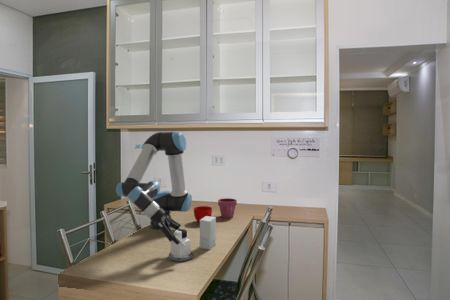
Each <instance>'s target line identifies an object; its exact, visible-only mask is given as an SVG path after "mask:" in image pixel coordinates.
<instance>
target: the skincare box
mask: <svg viewBox="0 0 450 300" xmlns="http://www.w3.org/2000/svg"><path fill="white" fill-rule="evenodd" d="M216 220H217V217H216V216H211V217H210V216H205V217H204V218H202V219H201V220H200V223H199V249H202V250H211V249H213V247H215V246H216V244H217V242H216V240H217V238H216V237H217V235H216V233H217V229H216V227H217V221H216Z"/></svg>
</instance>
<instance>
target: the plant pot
mask: <svg viewBox="0 0 450 300" xmlns="http://www.w3.org/2000/svg"><path fill="white" fill-rule="evenodd" d="M237 203H238V201H237V199H235V198H228V197H227V198H226V197H225V198H220V199H218V200H217V206H219V211H220V216H221V217H222V218H225V219H230V218H231V219H232V218H233V217H234V215H235V210H236V206H237V205H238V204H237Z"/></svg>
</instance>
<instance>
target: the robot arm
mask: <svg viewBox="0 0 450 300" xmlns="http://www.w3.org/2000/svg"><path fill="white" fill-rule="evenodd" d="M186 148H187V140H186V137H185V135H184V134H183V132H180V131H179V132H178V131H165V132H162V131H159V132H155V133H153V134H151V135H150V136H149V137H148V138H147V139H146V140H145V141H144V143H143V144H142V145H141V151H140V153H139V155H138V156H137V159H136V160H135V162H134V164H133V166H132V167H131V170H130V171H129V173H128V175H127V176H126V179H125V180H124V181H121V182H119V183H117V185H116V186H115V187H116V188H115V192H116V194H117V196H118V197H125V198H128V200H130V202H131V203H132V204H133V205H135V207H137V209H139V210H140V211H141V212H142V213H143V215H144V216H146V217H148V218H149V220H150V223H149V227H150V228H151V229H158V230H159V229H160V230H161V231H162V233H163V234H164V236H165V238H167V240H168V241H169V242H170V243H171V241H173V242H174V243H175V244H176V245H177V246H178V247H179V248H180V249H181V250H182V249H183V248H184V247H185V246H186V245H185V244H184V243H183V242H182V241H181V240H180V239H179V238H178V237H177V236H176V237H175V232H174V231H173V230H172V229H174V230H175V231H176V230H178V229H183V228H182V224H180V223H178V221H175V220H174V219H173V218H172V215H171V212H181V213H183V212H188V211H190V209H191V207H192V202H193V201H192V200H193V196H192V194H191V193H189V191H188V189H187V188H186V183H185V176H184V175H185V174H184V166H183V163H184V162H183V157H182V155H183V154H184V152H185V150H186ZM160 151H161V152H163V151H164V154H165V156H166V157H167V159H168V167H169V174H170V184H171V191H170V190H163V191H160V190H161V186H160V184H159V182H158V181H156V180H150V181H148V182H145V183H144V182H141V181H142V179H143V177H144V176H145V173H146V172H147V169H148V168H149V166H150V163H151V162H152V160H153V158H154V156H155V155H157V153H158V152H160ZM189 236H190V235H189V234H188V233H187V238H188V237H189Z"/></svg>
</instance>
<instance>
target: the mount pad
mask: <svg viewBox="0 0 450 300" xmlns="http://www.w3.org/2000/svg"><path fill="white" fill-rule="evenodd" d="M193 258H194V253H193V251H191V254H189V255H187V256H184V257H182V258H179V257H176V256H174V255H171V252H169V254H168V260H169V261H171V262H173V263H185V262H188V261H191V260H193Z"/></svg>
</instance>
